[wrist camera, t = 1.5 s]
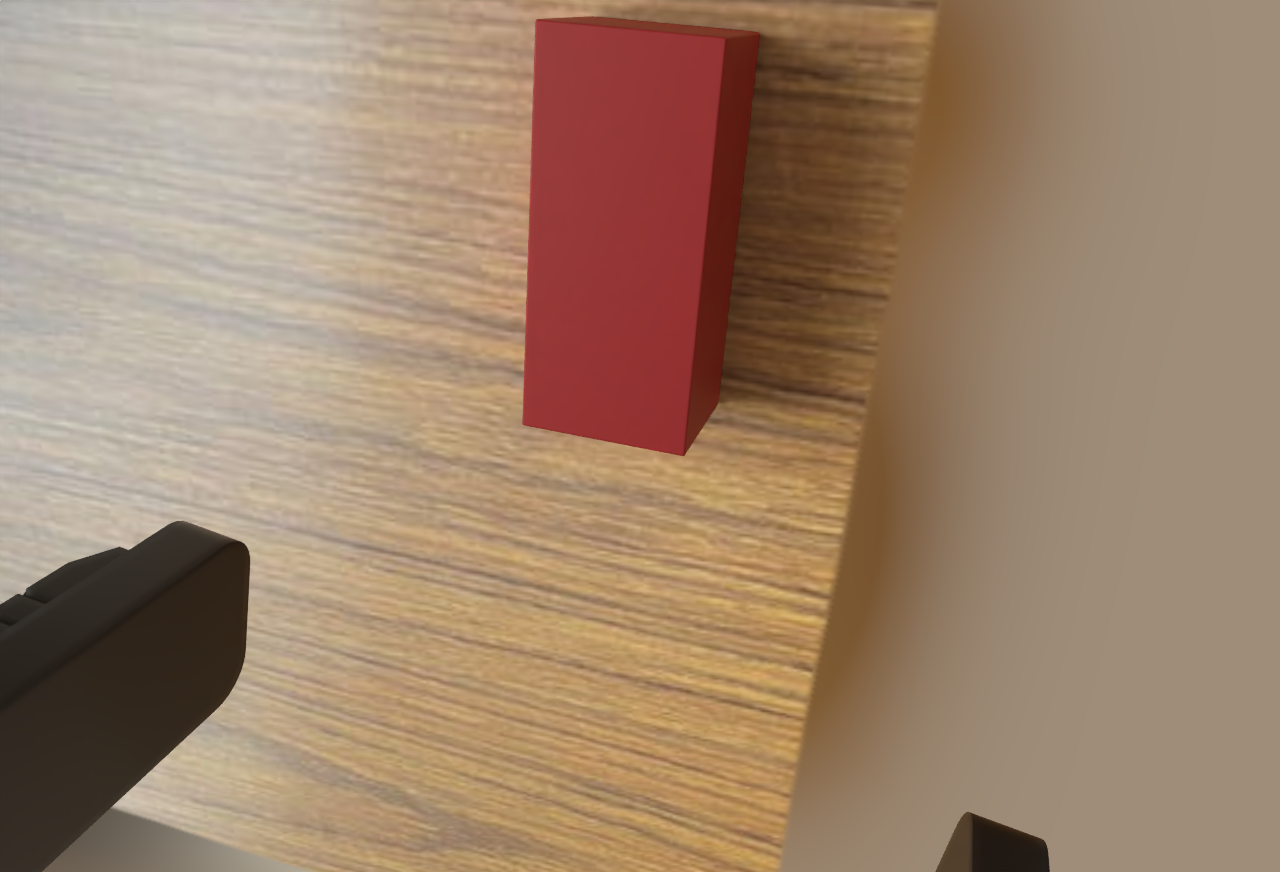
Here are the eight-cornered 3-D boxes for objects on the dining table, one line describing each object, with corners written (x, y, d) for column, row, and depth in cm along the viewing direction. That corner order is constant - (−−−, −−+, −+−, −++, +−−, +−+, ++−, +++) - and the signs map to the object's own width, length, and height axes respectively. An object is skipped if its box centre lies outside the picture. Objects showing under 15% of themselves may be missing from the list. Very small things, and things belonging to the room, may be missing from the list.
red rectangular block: (591, 16, 24) (534, 18, 21) (760, 31, 23) (726, 37, 20) (572, 378, 28) (521, 425, 25) (718, 404, 27) (684, 457, 24)
